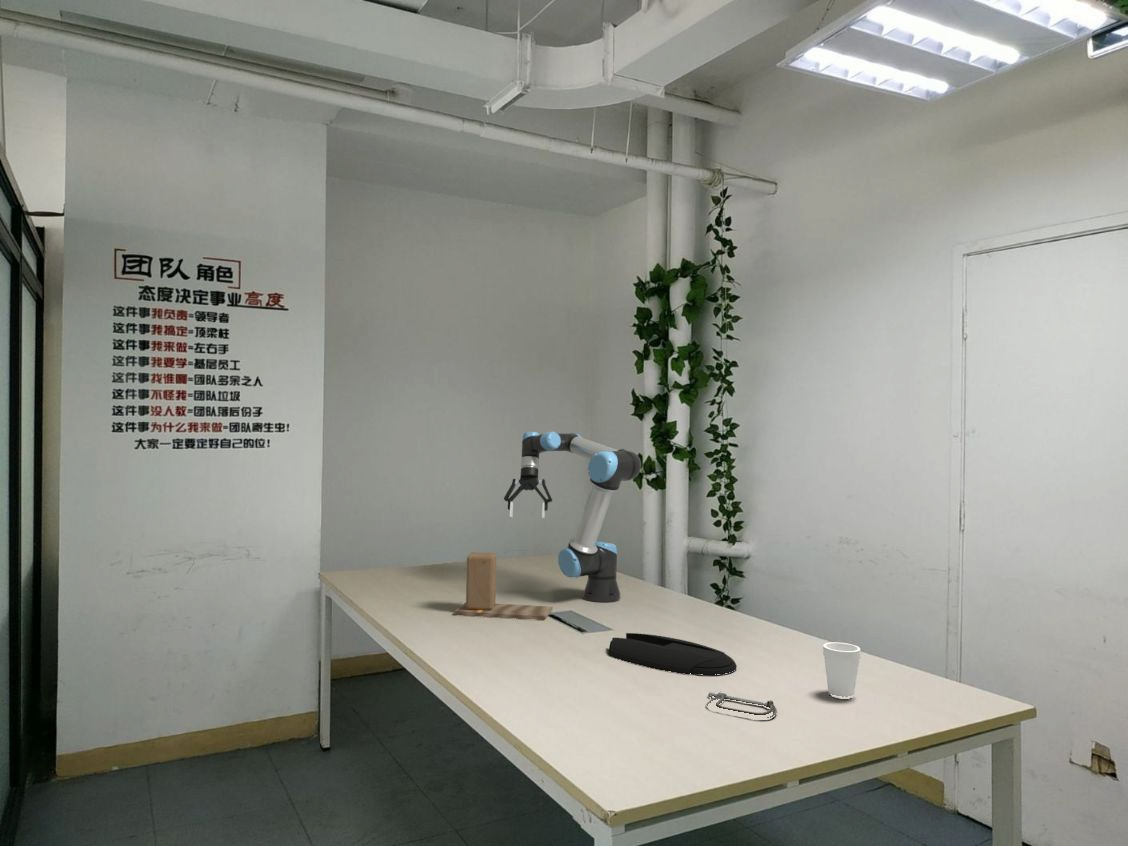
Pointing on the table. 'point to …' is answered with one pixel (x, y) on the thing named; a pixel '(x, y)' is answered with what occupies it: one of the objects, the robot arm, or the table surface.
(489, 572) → the wooden block
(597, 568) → the robot arm
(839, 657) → the foam cup
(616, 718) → the table surface
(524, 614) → the floor board
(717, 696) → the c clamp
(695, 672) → the black notched oval shell
